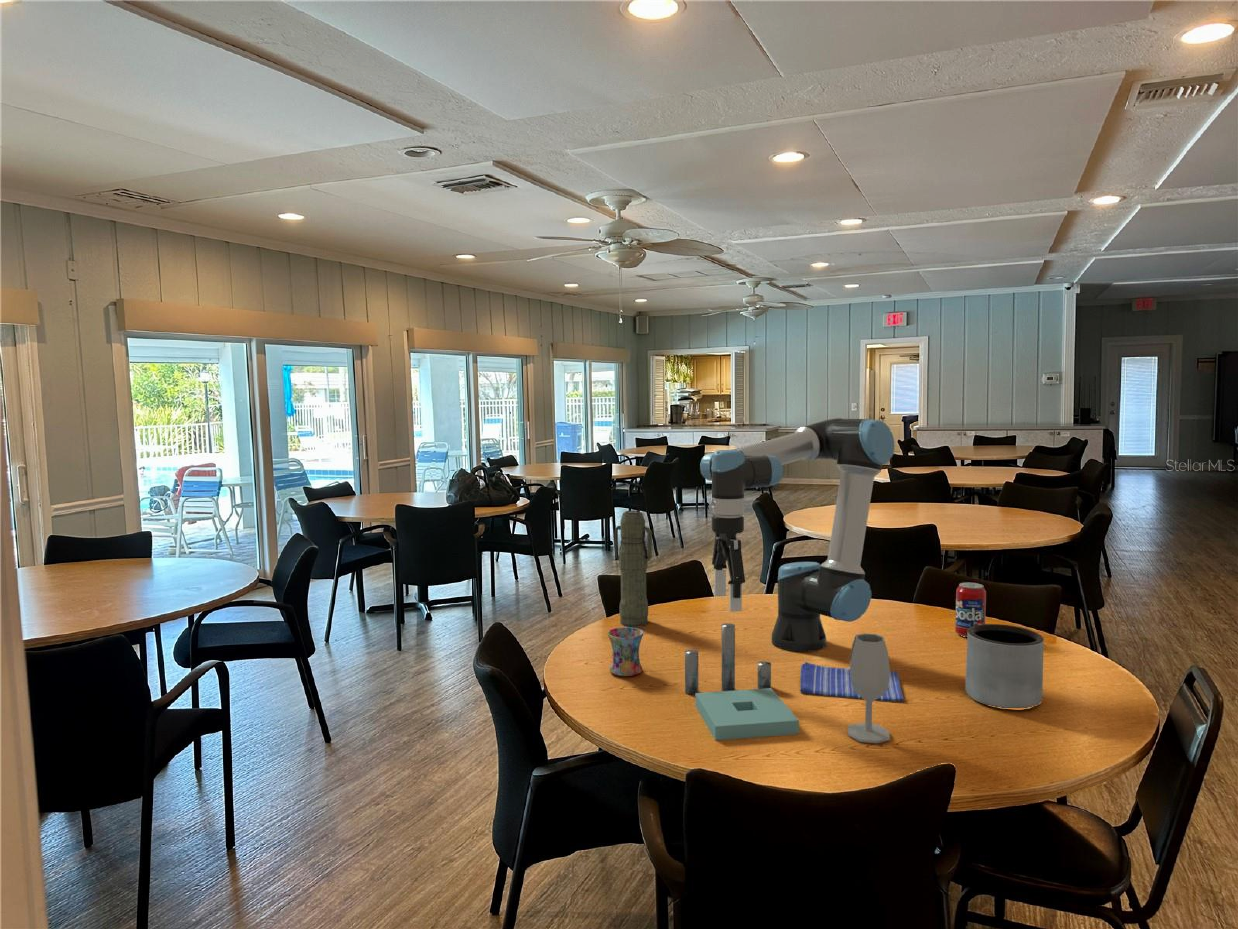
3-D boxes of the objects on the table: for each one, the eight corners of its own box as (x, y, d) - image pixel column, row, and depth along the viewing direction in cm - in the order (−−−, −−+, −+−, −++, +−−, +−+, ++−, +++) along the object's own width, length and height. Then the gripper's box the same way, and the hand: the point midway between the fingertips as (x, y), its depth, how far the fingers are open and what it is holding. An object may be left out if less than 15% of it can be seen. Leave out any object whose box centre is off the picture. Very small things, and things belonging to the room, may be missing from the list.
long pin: (732, 687, 191) (732, 623, 189) (736, 692, 188) (736, 627, 186) (720, 687, 191) (719, 623, 189) (723, 692, 187) (723, 627, 186)
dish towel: (801, 671, 203) (801, 660, 202) (898, 678, 196) (898, 667, 196) (798, 696, 186) (798, 684, 186) (904, 705, 180) (904, 693, 180)
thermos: (650, 627, 239) (649, 514, 236) (612, 625, 242) (610, 513, 238) (655, 619, 248) (654, 509, 244) (618, 617, 250) (617, 509, 247)
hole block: (770, 700, 182) (771, 688, 182) (798, 734, 165) (798, 720, 164) (695, 705, 180) (695, 693, 180) (715, 740, 162) (715, 726, 162)
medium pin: (696, 689, 190) (696, 649, 189) (699, 694, 187) (699, 653, 186) (683, 690, 189) (683, 650, 188) (686, 695, 186) (686, 654, 185)
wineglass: (840, 727, 167) (841, 632, 165) (879, 725, 168) (881, 630, 166) (856, 746, 159) (857, 645, 157) (897, 743, 160) (899, 643, 157)
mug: (636, 681, 196) (635, 639, 195) (602, 676, 199) (601, 635, 198) (652, 665, 207) (652, 626, 206) (620, 661, 210) (619, 622, 209)
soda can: (986, 633, 229) (988, 583, 227) (982, 641, 222) (984, 589, 221) (957, 629, 233) (959, 580, 231) (952, 637, 226) (954, 586, 225)
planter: (1011, 718, 171) (1013, 649, 169) (949, 694, 185) (951, 629, 183) (1057, 704, 178) (1060, 637, 177) (995, 681, 192) (997, 619, 191)
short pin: (768, 684, 192) (768, 661, 192) (772, 689, 189) (772, 665, 188) (755, 685, 192) (755, 661, 191) (759, 690, 189) (759, 666, 188)
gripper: (699, 508, 197) (699, 590, 199) (726, 524, 172) (726, 618, 174) (728, 507, 198) (728, 589, 200) (759, 523, 173) (758, 617, 175)
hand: (727, 603), depth 187 cm, fingers open, 13 cm apart
